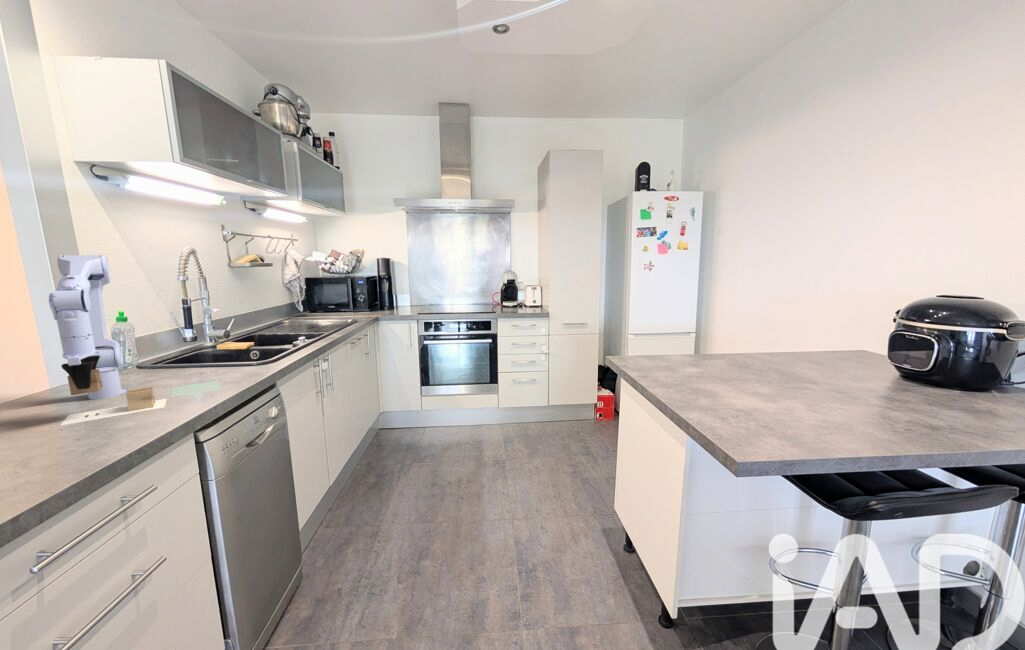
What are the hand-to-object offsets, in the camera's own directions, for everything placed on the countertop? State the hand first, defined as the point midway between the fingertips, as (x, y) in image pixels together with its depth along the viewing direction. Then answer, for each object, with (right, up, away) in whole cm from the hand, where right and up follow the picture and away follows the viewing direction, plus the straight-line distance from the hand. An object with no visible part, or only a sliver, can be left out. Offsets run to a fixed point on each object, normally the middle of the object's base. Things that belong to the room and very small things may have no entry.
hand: (86, 385), depth 104 cm
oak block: (+8, -7, +7) cm, 13 cm away
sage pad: (+10, -5, +23) cm, 26 cm away
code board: (+4, -8, +5) cm, 10 cm away
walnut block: (0, -1, 0) cm, 1 cm away
